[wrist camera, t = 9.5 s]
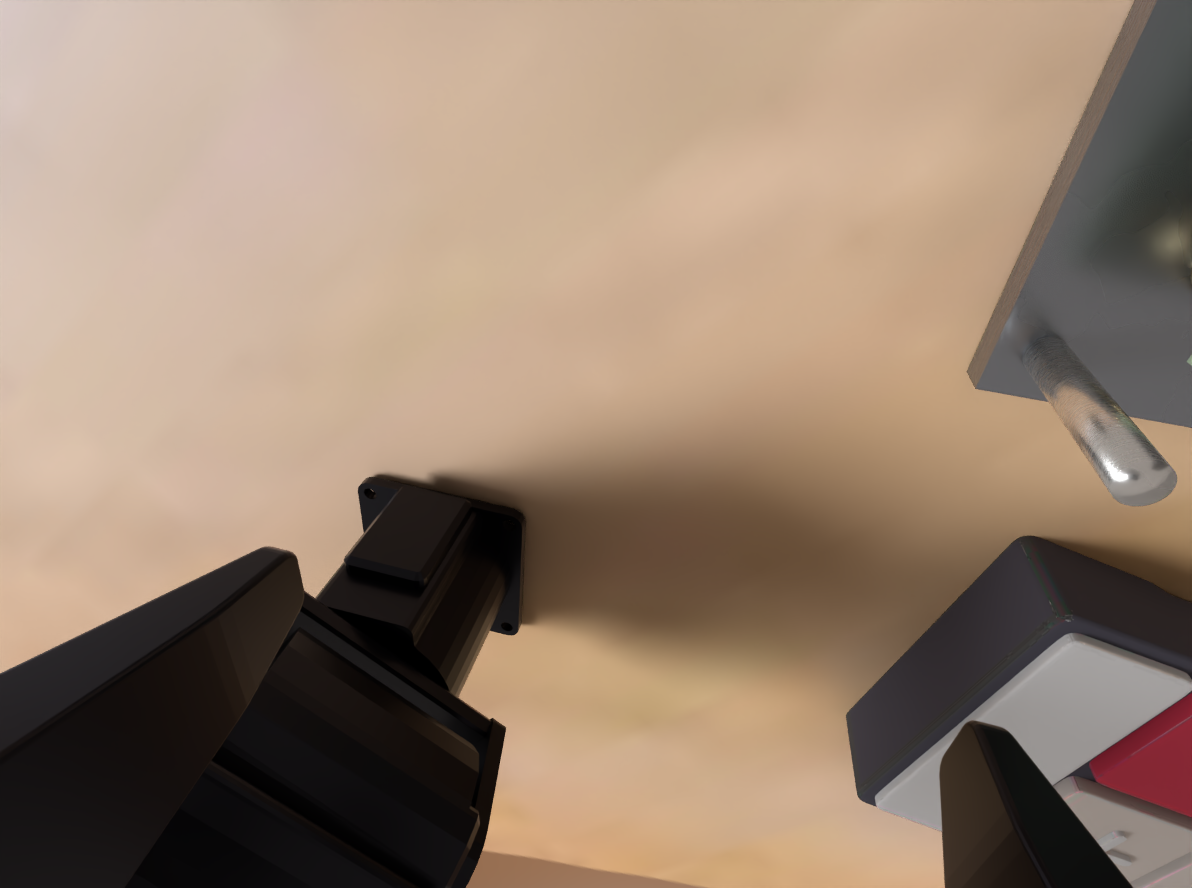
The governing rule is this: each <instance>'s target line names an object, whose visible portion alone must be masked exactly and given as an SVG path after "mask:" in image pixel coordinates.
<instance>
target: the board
mask: <svg viewBox="0 0 1192 888" xmlns="http://www.w3.org/2000/svg"><path fill="white" fill-rule="evenodd" d="M1187 362H1188V363H1189V364H1190V365H1191V366H1192V355H1191V356H1190V358H1189V359H1188V360H1187Z"/></svg>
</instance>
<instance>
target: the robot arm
mask: <svg viewBox="0 0 1192 888" xmlns="http://www.w3.org/2000/svg"><path fill="white" fill-rule="evenodd" d="M371 489H372V490H373V491H374V492H373V491H372V490H371ZM358 494H359V501H360V509H361V516H362V523H363V530H364V534H363V535H362V536H361V537H360V539H359V540H358V541H357V542H356V544H355V545H354V546H353V547H352V549H351V550H350V551H349V552H348V554H347V555H346V556H345V559H344V563H343V564H342V565H341V566H340V568H339V569H338V570H337V571H336V573H335V574H334V575H333V576H332V578H331V579H330V580H329V581H328V583H327V584H326V585H325V586H324V588H323V589H322V590H321V592H320V593H319V594H318V595H317V597H316V598H314V597H313V596H311V595H310V594H308V593H307V592H305V591H304V588H303V583H302V579H301V574H300V569H299V565H298V560H297V557H296V556H295V555H294V553H293V552H290V551H287V550H283V549H279V548H275V547H269V546H268V547H262V548H260V549H257V550H255V551H253V552H251V553H249V554H247V555H245V556H243V557H241V558H239V559H236V560H234V561H232V562H230V563H228V564H226V565H224V566H222V567H220V568H218V569H216V570H214V571H212V572H210V573H207V574H205V575H203V576H201V577H199V578H197V579H195V580H193V581H191V582H189V583H187V584H185V585H183V586H181V587H178V588H176V589H174V590H172V591H170V592H168V593H166V594H164V595H162V596H160V597H158V598H156V599H154V600H152V601H150V602H147V603H145V604H143V605H141V606H139V607H137V608H135V609H133V610H131V611H129V612H127V613H125V614H123V615H121V616H118V617H116V618H114V619H112V620H110V621H108V622H106V623H104V624H102V625H100V626H98V627H96V628H94V629H92V630H89V631H87V632H85V633H83V634H81V635H79V636H77V637H75V638H73V639H71V640H69V641H67V642H65V643H63V644H60V645H58V646H56V647H54V648H52V649H50V650H48V651H46V652H44V653H42V654H40V655H38V656H36V657H34V658H31V659H29V660H27V661H25V662H23V663H21V664H19V665H17V666H15V667H13V668H11V669H9V670H7V671H5V672H2V673H0V888H466V886H467V884H468V882H469V880H470V878H471V876H472V874H473V872H474V870H475V867H476V865H477V863H478V860H479V858H480V855H481V852H482V849H483V846H484V843H485V839H486V835H487V831H488V825H489V820H490V814H491V809H492V803H493V798H494V792H495V787H496V781H497V776H498V770H499V765H500V759H501V754H502V748H503V743H504V737H505V732H506V727H505V726H503V725H502V724H500V723H499V722H498V721H496V720H495V719H493V718H492V719H488V718H487V717H485V716H484V715H482V714H481V713H480V712H478V711H477V710H475V709H474V708H472V707H471V706H469V705H468V704H467V703H465V702H464V701H462V700H461V699H459V698H458V697H459V695H460V692H461V690H462V688H463V686H464V684H465V682H466V680H467V678H468V675H469V673H470V671H471V669H472V667H473V665H474V663H475V661H476V658H477V656H478V654H479V652H480V650H481V648H482V646H483V644H484V641H485V639H486V637H487V635H488V633H489V631H493V632H497V633H501V634H505V635H515V634H516V633H517V632H518V630H519V628H520V625H521V622H522V599H523V575H524V551H525V527H526V521H525V517H524V516H523V514H522V513H521V512H519V511H518V510H515V509H513V508H508V507H504V506H499V505H495V504H490V503H486V502H482V501H477V500H473V499H468V498H464V497H459V496H455V495H451V494H446V493H442V492H437V491H433V490H428V489H424V488H419V487H415V486H411V485H406V484H402V483H397V482H393V481H388V480H384V479H379V478H375V477H369V478H366V479H365V480H364V481H363V482H362V484H361V485H360V486H359V487H358ZM507 520H510V521H512V522H513V523H514V524H511V523H509V522H508V521H507ZM939 781H940V801H941V821H942V840H943V860H944V880H945V888H1133V886H1132V885H1131V884H1130V883H1129V881H1128V880H1127V879H1126V878H1125V876H1124V875H1123V874H1122V873H1121V871H1120V870H1119V869H1118V868H1117V866H1116V865H1115V864H1114V862H1113V861H1112V860H1111V859H1110V857H1109V856H1108V855H1107V854H1106V852H1105V851H1104V850H1103V849H1102V847H1101V846H1100V845H1099V844H1098V842H1097V841H1096V840H1095V839H1094V837H1093V836H1092V835H1091V833H1090V832H1089V831H1088V830H1087V828H1086V827H1085V826H1084V825H1083V823H1082V822H1081V821H1080V820H1079V818H1078V817H1077V816H1076V815H1075V813H1074V812H1073V811H1072V810H1071V808H1070V807H1069V806H1068V804H1067V803H1066V802H1065V801H1064V799H1063V798H1062V797H1061V796H1060V794H1059V793H1058V792H1057V791H1056V789H1055V788H1054V787H1053V786H1052V784H1051V783H1050V782H1049V781H1048V779H1047V778H1046V777H1045V775H1044V774H1043V773H1042V772H1041V770H1040V769H1039V768H1038V767H1037V765H1036V764H1035V763H1034V762H1033V760H1032V759H1031V758H1030V757H1029V755H1028V754H1027V753H1026V752H1025V750H1024V749H1023V748H1022V746H1021V745H1020V744H1019V743H1018V741H1017V740H1016V739H1015V738H1014V736H1013V735H1012V734H1011V733H1010V732H1008V731H1007V730H1006V729H1004V728H1002V727H1000V726H996V725H992V724H988V723H984V722H980V721H975V720H971V721H969V722H967V723H965V724H964V726H963V727H962V728H961V730H960V731H959V733H958V734H957V736H956V737H955V739H954V740H953V742H952V743H951V745H950V746H949V748H948V749H947V751H946V752H945V754H944V755H943V757H942V760H941V764H940V771H939Z"/></svg>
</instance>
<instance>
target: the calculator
mask: <svg viewBox="0 0 1192 888" xmlns="http://www.w3.org/2000/svg"><path fill="white" fill-rule="evenodd" d="M846 719H847V727H848V734H849V741H850V748H851V755H852V762H853V769H854V776H855V783H856V790H857V795H858V797H859V799H860V800H862V801H863V802H865V803H868V804H871V805H873V806H876V807H878V808H879V809H880V810H883V811H885V812H888V813H891V814H894V815H896V816H899V817H902V818H905V819H908V820H910V821H913V822H916V823H919V824H922V825H924V826H927V827H930V828H933V829H936V830H938V831H941V832H942V821H941V801H940V781H939V771H940V764H941V760H942V757H943V755H944V754H945V752H946V751H947V749H948V748H949V746H950V745H951V743H952V742H953V740H954V739H955V737H956V736H957V734H958V733H959V731H960V730H961V728H962V727H963V726H964V724H965V723H967V722H969V721H971V720H975V721H980V722H984V723H988V724H992V725H996V726H1000V727H1002V728H1004V729H1006V730H1007V731H1008V732H1010V733H1011V734H1012V735H1013V736H1014V738H1015V739H1016V740H1017V741H1018V743H1019V744H1020V745H1021V746H1022V748H1023V749H1024V750H1025V752H1026V753H1027V754H1028V755H1029V757H1030V758H1031V759H1032V760H1033V762H1034V763H1035V764H1036V765H1037V767H1038V768H1039V769H1040V770H1041V772H1042V773H1043V774H1044V775H1045V777H1046V778H1047V779H1048V781H1049V782H1050V783H1051V784H1052V786H1053V787H1054V788H1055V789H1056V791H1057V792H1058V793H1059V794H1060V796H1061V797H1062V798H1063V799H1064V801H1065V802H1066V803H1067V804H1068V806H1069V807H1070V808H1071V810H1072V811H1073V812H1074V813H1075V815H1076V816H1077V817H1078V818H1079V820H1080V821H1081V822H1082V823H1083V825H1084V826H1085V827H1086V828H1087V830H1088V831H1089V832H1090V833H1091V835H1092V836H1093V837H1094V839H1095V840H1096V841H1097V842H1098V844H1099V845H1100V846H1101V847H1102V849H1103V850H1104V851H1105V852H1106V854H1107V855H1108V856H1109V857H1110V859H1111V860H1112V861H1113V862H1114V864H1115V865H1116V866H1117V868H1118V869H1119V870H1120V871H1121V873H1122V874H1123V875H1124V876H1125V878H1126V879H1127V880H1128V881H1129V883H1130V884H1131V885H1132V886H1133V888H1192V603H1191V602H1188V601H1186V600H1183V599H1180V598H1178V597H1175V596H1172V595H1170V594H1168V593H1167V592H1165V591H1163V590H1162V589H1160V588H1159V587H1157V586H1156V585H1154V584H1153V583H1151V582H1149V581H1146V580H1144V579H1142V578H1139V577H1137V576H1134V575H1132V574H1129V573H1127V572H1124V571H1122V570H1119V569H1117V568H1114V567H1112V566H1109V565H1107V564H1104V563H1102V562H1099V561H1097V560H1094V559H1092V558H1089V557H1087V556H1084V555H1082V554H1079V553H1077V552H1074V551H1072V550H1069V549H1067V548H1064V547H1062V546H1059V545H1057V544H1054V543H1052V542H1049V541H1047V540H1044V539H1041V538H1039V537H1035V536H1023V537H1020V538H1018V539H1016V540H1015V541H1014V542H1012V543H1011V544H1010V545H1009V546H1008V547H1007V548H1006V549H1005V550H1004V552H1003V553H1002V554H1001V555H1000V556H999V557H998V558H997V559H996V560H995V561H994V562H993V563H992V564H991V565H990V566H989V567H988V568H987V569H986V570H985V571H984V572H983V573H982V574H981V575H980V576H979V577H978V578H977V579H976V580H975V581H974V582H973V583H972V585H971V586H970V587H969V588H968V589H967V590H966V591H965V592H964V593H963V594H962V595H961V596H960V597H959V598H958V599H957V600H956V601H955V602H954V603H953V604H952V605H951V606H950V607H949V608H948V609H947V610H946V611H945V612H944V613H943V614H942V615H941V617H940V618H939V619H938V620H937V621H936V622H935V623H934V624H933V625H932V626H931V627H930V628H929V629H928V630H927V631H926V632H925V633H924V634H923V635H922V636H921V637H920V638H919V639H918V640H917V641H916V642H915V643H914V644H913V645H912V646H911V647H910V649H909V650H908V651H907V652H906V653H905V654H904V655H903V656H902V657H901V658H900V659H899V660H898V661H897V662H896V663H895V664H894V665H893V666H892V667H891V668H890V669H889V670H888V671H887V672H886V673H885V674H884V675H883V676H882V677H881V678H880V679H879V681H878V682H877V683H876V684H875V685H874V686H873V687H872V688H871V689H870V690H869V691H868V692H867V693H866V694H865V695H864V696H863V697H862V698H861V699H860V700H859V701H858V702H857V703H856V704H855V705H854V706H853V707H852V708H851V709H850V711H849V712H848V713H847V715H846Z"/></svg>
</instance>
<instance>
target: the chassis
mask: <svg viewBox="0 0 1192 888" xmlns="http://www.w3.org/2000/svg"><path fill="white" fill-rule="evenodd" d="M1191 355H1192V0H1135V1H1134V3H1133V5H1132V8H1131V10H1130V12H1129V14H1128V16H1127V19H1126V21H1125V23H1124V25H1123V27H1122V30H1121V32H1120V34H1119V36H1118V38H1117V41H1116V43H1115V45H1114V47H1113V50H1112V52H1111V54H1110V56H1109V58H1108V61H1107V63H1106V65H1105V67H1104V69H1103V72H1102V74H1101V76H1100V78H1099V80H1098V83H1097V85H1096V87H1095V89H1094V92H1093V94H1092V96H1091V98H1090V100H1089V103H1088V105H1087V107H1086V109H1085V111H1084V114H1083V116H1082V118H1081V120H1080V122H1079V125H1078V127H1077V129H1076V131H1075V133H1074V136H1073V138H1072V140H1071V142H1070V145H1069V147H1068V149H1067V151H1066V153H1065V156H1064V158H1063V160H1062V162H1061V164H1060V167H1059V169H1058V171H1057V173H1056V175H1055V178H1054V180H1053V182H1052V184H1051V187H1050V189H1049V191H1048V193H1047V195H1046V198H1045V200H1044V202H1043V204H1042V206H1041V209H1040V211H1039V213H1038V215H1037V217H1036V220H1035V222H1034V224H1033V226H1032V229H1031V231H1030V233H1029V235H1028V237H1027V240H1026V242H1025V244H1024V246H1023V248H1022V251H1021V253H1020V255H1019V257H1018V259H1017V262H1016V264H1015V266H1014V268H1013V270H1012V273H1011V275H1010V277H1009V279H1008V282H1007V284H1006V286H1005V288H1004V290H1003V293H1002V295H1001V297H1000V299H999V301H998V304H997V306H996V308H995V310H994V312H993V315H992V317H991V319H990V321H989V324H988V326H987V328H986V330H985V332H984V335H983V337H982V339H981V341H980V343H979V346H978V348H977V350H976V352H975V354H974V357H973V359H972V361H971V363H970V365H969V368H968V370H967V373H968V375H969V377H970V379H971V381H972V383H973V385H974V387H975V389H980V390H985V391H991V392H997V393H1002V394H1008V395H1013V396H1019V397H1024V398H1030V399H1035V400H1041V401H1046V402H1049V403H1050V405H1051V406H1052V408H1053V409H1054V410H1055V412H1056V413H1057V415H1058V416H1059V418H1060V419H1061V421H1062V422H1063V424H1064V425H1065V427H1066V428H1067V430H1068V431H1069V433H1070V434H1071V436H1072V437H1073V439H1074V440H1075V441H1076V443H1077V444H1078V446H1079V447H1080V449H1081V450H1082V452H1083V453H1084V455H1085V456H1086V458H1087V459H1088V461H1089V462H1090V464H1091V465H1092V467H1093V468H1094V470H1095V471H1096V472H1097V474H1098V475H1099V477H1100V478H1101V480H1102V481H1103V483H1104V484H1105V486H1106V487H1107V489H1108V490H1109V492H1110V493H1111V495H1112V496H1113V498H1114V499H1115V500H1117V501H1118V502H1120V503H1122V504H1125V505H1129V506H1145V505H1150V504H1153V503H1156V502H1158V501H1160V500H1162V499H1164V498H1165V497H1167V496H1168V495H1169V494H1170V493H1171V492H1172V491H1173V489H1174V488H1175V486H1176V483H1177V475H1176V472H1175V471H1174V469H1173V468H1172V467H1171V466H1170V465H1169V464H1168V462H1167V461H1166V460H1165V459H1164V458H1163V457H1162V455H1161V454H1160V453H1159V452H1158V451H1157V449H1156V448H1155V447H1154V446H1153V445H1152V444H1151V442H1150V441H1149V440H1148V439H1147V438H1146V437H1145V435H1144V434H1143V433H1142V432H1141V431H1140V429H1139V428H1138V427H1137V426H1136V425H1135V424H1134V422H1133V421H1132V420H1131V419H1130V418H1129V417H1135V418H1140V419H1146V420H1151V421H1157V422H1163V423H1168V424H1174V425H1179V426H1185V427H1190V428H1192V366H1191V365H1190V364H1189V363H1188V362H1187V360H1188V359H1189V358H1190V356H1191Z"/></svg>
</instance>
